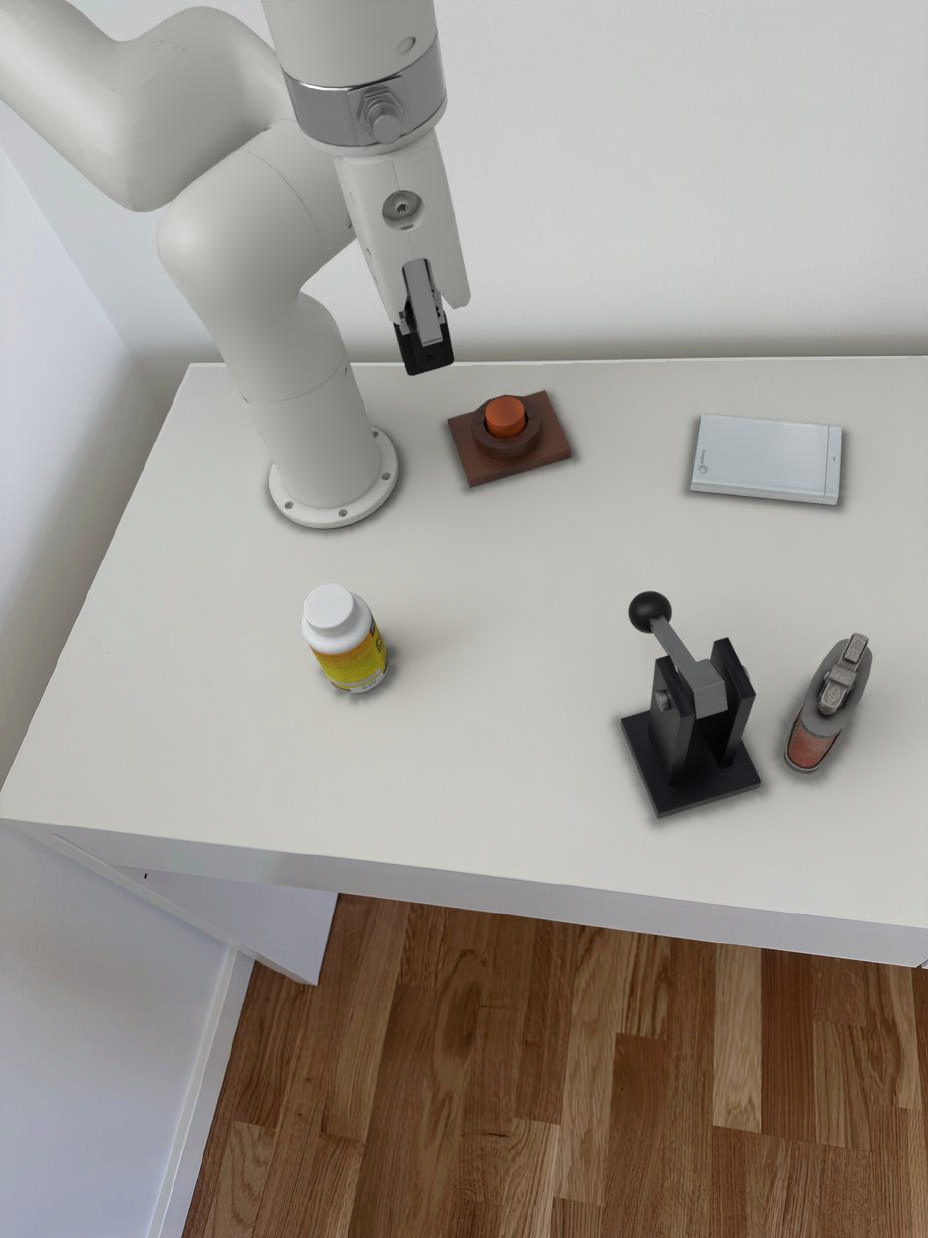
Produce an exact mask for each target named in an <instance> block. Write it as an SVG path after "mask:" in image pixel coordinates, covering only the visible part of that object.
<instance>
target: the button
mask: <svg viewBox="0 0 928 1238" xmlns="http://www.w3.org/2000/svg"><path fill="white" fill-rule="evenodd" d="M485 415H486V421H487V427H488V430H489V431H490V432H491V434H493V435H494V436H496V437H499V438H510V437H513V436H516V435H517V434H519V433H520V432H521V431H522V430H523V428H524V426H525V412H524V406H523V404H522V403H521V402H520V401H519V400H518V399H516V398H513V397H500V398H497V399H495V400H493V401H492V402H491V403H490V404H489V405H488V406H487V408H486V411H485Z"/></svg>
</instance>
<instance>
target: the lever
mask: <svg viewBox="0 0 928 1238" xmlns="http://www.w3.org/2000/svg"><path fill="white" fill-rule="evenodd" d="M627 613H628V619H629V622H630V624H631V625H632V626H633V627H634V629H636V630H637V631H639V632H641V633H643V634H648V635H651V634H653V635H654V637H655V638H656V640H657V642H658V643H659V644H660V646H661V648H662V649H663V651H664V652H665V654H666V656H667V655H670V657H671V659H672V661H673V663H674V666H675V668H676V670H677V672H678V675H679V677H680V679H681V681H682V684H683V686H684V688H685V690H686V693H687V695H688V697H689V699H690V702H691V704H692V706H693V708H694V711H695V718H696V719H699V718H703V717H706V716H709V715H712V714H716V713H719V712H722V711H725V710H728V703H727V694H726V684H725V681H724V679H723V678H722V677H721V675H720V674H719V672H718V671H717V670H716V668H715V667H714V666H713V664H712V663H711V662H710V658H708V657H707V658H704V659H701V660H696V659H695V658H694V656H693V655H692V654H691V652H690V651H689V649H688V648H687V646H686V645H685V644H684V642H683V641H682V640H681V638H680V637H679V635H678V634H677V632H676V631H675V629H674V628H673V627H672V625H671V624H670V622H671V620H672V617H673V616H672V615H673V608H672V605H671V603H670V601H669V599H668V598H667V596H665V595H664V594H662V593H661V592H658V591H654V590H645V591H642V592H639V594H637V595H635V596H634V598H633V599H632V600H631V601H630V603H629V606H628V611H627Z"/></svg>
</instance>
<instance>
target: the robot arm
mask: <svg viewBox="0 0 928 1238" xmlns="http://www.w3.org/2000/svg"><path fill="white" fill-rule="evenodd" d="M260 3H261V6H262V7H261V8H262V10H263V13H264V17H265V20H266V24H267V27H268V30H269V33H270V36H271V39H272V43H273V46H274V48H273V47H271V45H269V44H268V43H267V42H266V41H265V40H264V39H263V38H262V37H261V36H260V35H259V34H258V33H256V32H255V31H254V30H253V29H252V28H251V27H249V26H248V25H247V24H246V23H244V22H243V21H241V20H240V19H239V18H237V16H234V15H233V14H230V13H229V12H227V11H224V10H221V9H218V8H215V7H212V6H207V5H197V6H191V7H187V8H185V9H184V8H183V9H182V10H180V11H178V12H175V13H173V14H172V15H170V16H168V17H167V18H164V19H163V20H162V21H161V22H159V23H157V24H155V26H153V27H151V28H150V29H149V30H147V31H145V32H143V33H142V34H141V35H138V36H137V37H135V38H132V39H130V40H121V41H120V40H116V39H114V38H112V37H111V36H109V35H107V34H106V33H105V32H104V31H103V30H101V29H100V28H99V27H98V26H97V25H96V24H95V22H93V21H92V20H91V19H90V18H89V17H88V16H87V15H86V14H84V12H83V11H82V10H80V9H79V8H78V7H76V6H75V5H74V4H72V3H71V2H69V1H67V0H0V101H1V102H2V103H4V104H5V105H6V106H7V107H9V108H10V109H11V110H12V111H13V112H14V113H15V114H16V115H18V116H19V118H20V119H22V120H23V122H25V123H26V125H28V126H29V127H30V128H31V129H32V130H33V131H34V132H36V133H37V134H38V135H39V137H41V138H42V139H43V140H44V142H46V143H47V144H49V146H51V148H53V149H54V150H55V151H56V152H57V153H58V154H59V155H60V156H61V157H62V158H64V159H65V160H66V161H67V162H68V163H69V164H70V166H72V167H73V168H74V169H76V170H77V172H79V174H81V175H82V176H83V177H84V178H85V179H86V180H87V181H88V182H90V183H91V184H92V185H93V186H94V187H95V188H96V189H98V190H99V191H100V192H101V193H103V195H105V196H107V197H108V198H109V199H110V200H112V201H113V202H114V203H116V204H118V205H119V206H120V207H123V208H124V209H127V210H129V211H132V212H135V213H149V212H154V211H156V210H158V209H161V208H164V207H165V206H167V205H168V206H167V207H166V208H165V210H164V212H163V213H162V215H161V217H160V219H159V221H158V224H157V229H156V232H155V245H156V251H157V255H158V258H159V260H160V262H161V264H162V267H163V268H164V270H165V272H166V274H167V275H168V277H169V278H170V280H171V282H172V284H174V286H175V287H176V289H177V290H178V291H179V293H180V294H181V295H182V296H183V298H184V300H185V301H186V302H187V303H188V304H189V306H190V307H191V308H192V310H193V311H194V313H195V314H196V316H197V318H199V320H200V321H201V323H202V324H203V326H204V327H205V329H206V331H207V332H208V334H209V336H210V337H211V339H212V341H213V342H214V344H215V346H216V347H217V349H218V351H219V353H220V356H221V357H222V360H223V361H224V363H225V365H226V367H227V369H228V372H229V373H230V375H231V377H232V379H233V381H234V384H235V385H236V388H237V390H238V392H239V393H240V395H241V398H242V400H243V402H244V404H245V406H246V408H247V410H248V412H249V414H250V416H251V419H252V420H253V423H254V424H255V426H256V430H257V431H258V434H259V435H260V437H261V439H262V441H263V443H264V445H265V448H266V449H267V452H268V454H269V456H270V458H271V460H272V464H271V466H270V469H269V476H268V488H269V491H270V495H271V497H272V500H273V502H274V503H275V506H276V507H277V509H278V510H279V511H280V512H281V513H282V514H283V515H284V516H285V517H286V518H288V519H289V520H290V521H292V522H294V523H296V524H298V525H300V526H303V527H307V528H311V529H312V528H313V529H324V530H326V529H335V528H341V527H344V526H345V527H346V526H349V525H352V524H354V523H356V522H359V521H361V520H364V519H365V518H366V517H368V516H370V515H371V514H374V512H376V511H377V510H378V509H379V508H380V507H381V506H382V505H383V504H384V503H385V502H386V501H387V499H388V498H389V497H390V496H391V494H392V492H393V491H394V488H395V486H396V483H397V481H398V477H399V467H400V465H399V460H398V455H397V451H396V450H395V446H394V445H393V443H392V441H391V440H390V438H389V437H388V436H387V435H386V434H385V433H384V431H382V430H381V429H378V428H377V427H375V426H374V425H372V424H371V423H370V420H369V418H368V414H367V411H366V408H365V405H364V402H363V398H362V396H361V392H360V389H359V386H358V383H357V380H356V378H355V373H354V370H353V368H352V365H351V361H350V358H349V355H348V352H347V350H346V346H345V343H344V340H343V337H342V334H341V331H340V328H339V326H338V324H337V321H336V319H335V318H334V316H333V315H332V313H331V312H330V310H329V309H327V307H326V306H325V305H324V304H323V303H321V302H320V301H319V300H318V299H316V298H315V297H313V296H311V295H309V294H308V293H305V292H303V291H302V290H301V289H302V287H303V286H304V285H305V284H306V283H307V282H308V281H309V280H310V279H311V278H312V277H313V276H314V275H316V274H317V273H318V272H319V271H320V270H321V269H322V268H323V267H324V266H325V265H327V264H328V263H329V262H330V261H331V260H333V259H334V258H335V257H336V256H337V255H339V254H340V253H341V252H342V251H343V250H345V249H347V247H348V246H349V245H351V244H352V243H353V242H354V241H356V239H357V241H358V244H359V247H360V249H361V252H362V255H363V258H364V260H365V263H366V265H367V268H368V271H369V273H370V275H371V278H372V281H373V283H374V286H375V288H376V291H377V293H378V295H379V299H380V300H381V303H382V305H383V308H384V310H385V313H386V314H387V318H388V320H389V321H390V322H392V326H393V329H394V333H395V336H396V341H397V344H398V348H399V352H400V357H401V360H402V363H403V364H404V368H405V372H406V374H407V376H410V377H414V376H418V375H422V374H425V373H428V372H432V371H435V370H439V369H442V368H445V367H448V366H451V365H453V364H454V363H455V356H454V349H453V345H452V339H451V333H450V327H449V323H448V318H447V313H446V311H445V310H444V305H443V300H442V299H444V300H445V301H446V303H447V304H448V305H449V306H450V307H451V308H452V310H457V309H459V308H465V307H467V306H468V305H469V303H470V301H471V298H472V294H471V289H470V284H469V279H468V275H467V269H466V265H465V260H464V254H463V250H462V245H461V239H460V234H459V229H458V224H457V218H456V214H455V209H454V203H453V198H452V194H451V190H450V185H449V180H448V175H447V171H446V167H445V162H444V159H443V155H442V151H441V147H440V142H439V139H438V135H437V131H436V128H435V127H436V126H437V125H438V124H439V123H440V121H441V120H442V119H443V116H444V115H445V112H446V110H447V106H448V101H449V100H448V91H447V90H448V89H447V85H446V77H445V71H444V63H443V57H442V51H441V44H440V38H439V31H438V25H437V17H436V10H435V9H436V8H435V4H434V0H260ZM442 297H443V298H442Z"/></svg>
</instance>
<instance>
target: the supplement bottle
mask: <svg viewBox="0 0 928 1238" xmlns="http://www.w3.org/2000/svg"><path fill="white" fill-rule="evenodd" d="M367 603H368V602H366V600H365V599H364V598H362V597H361V596H360V595H359V594H357V593H354V592H353V591H350V590H349V589H348V587H346V586H344V585H343V584H339V583H325V584H322V585H320V586H318V587H316V588H314V589H313V590H312V591H310V593H309V594H308V595H307V596H306V598H305V600H304V603H303V609H302V611H303V615H302V619H301V633H302V636H303V638H304V640H305V642H306V643H307V645H308V648H310V650H311V652H312V653H313V655H314V658H315V659H316V661H317V662H318V664H319V666H320V668H321V670H322V671H323V673H324V675H325V676H326V678H327V680H328V681H329V682H330V684H331V685H332V686H334V688H336V689H337V690H339V691H341V692H343V693H344V692H345V693H348V694H361V693H364V692H367V691H369V690H371V689H373V688H375V687H376V686H378V684H380V683H381V682H382V680H383V679H384V678H385V676H386V675H387V672H388V670H389V667H390V666H389V665H390V655H389V651H388V649H387V646H386V643H385V641H384V640H383V637H382V634H381V631H380V629H379V627H378V625H377V623H376V620H375V618H374V616H373V613H372V610H371V609H370V607H369V605H368V604H367Z"/></svg>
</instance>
